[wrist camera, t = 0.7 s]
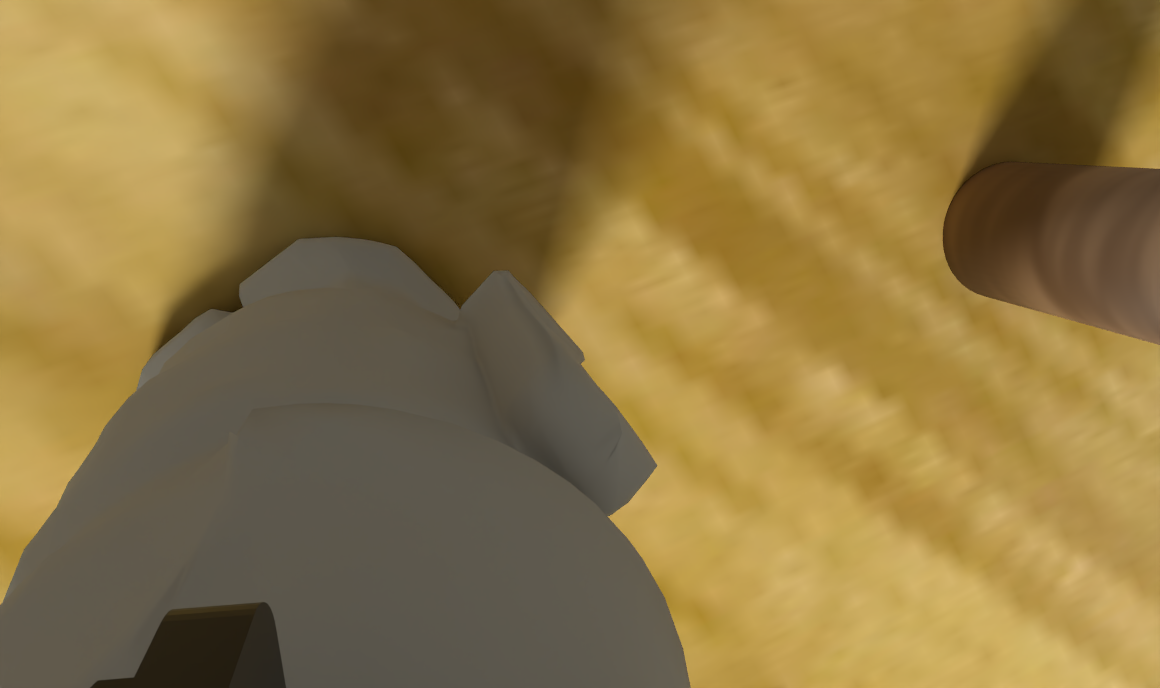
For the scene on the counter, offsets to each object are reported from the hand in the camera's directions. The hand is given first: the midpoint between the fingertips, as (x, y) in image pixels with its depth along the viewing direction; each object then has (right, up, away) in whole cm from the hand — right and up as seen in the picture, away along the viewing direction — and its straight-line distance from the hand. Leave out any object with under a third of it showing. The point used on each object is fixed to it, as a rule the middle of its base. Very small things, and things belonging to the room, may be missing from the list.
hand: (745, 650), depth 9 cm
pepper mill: (+14, +7, +27) cm, 31 cm away
